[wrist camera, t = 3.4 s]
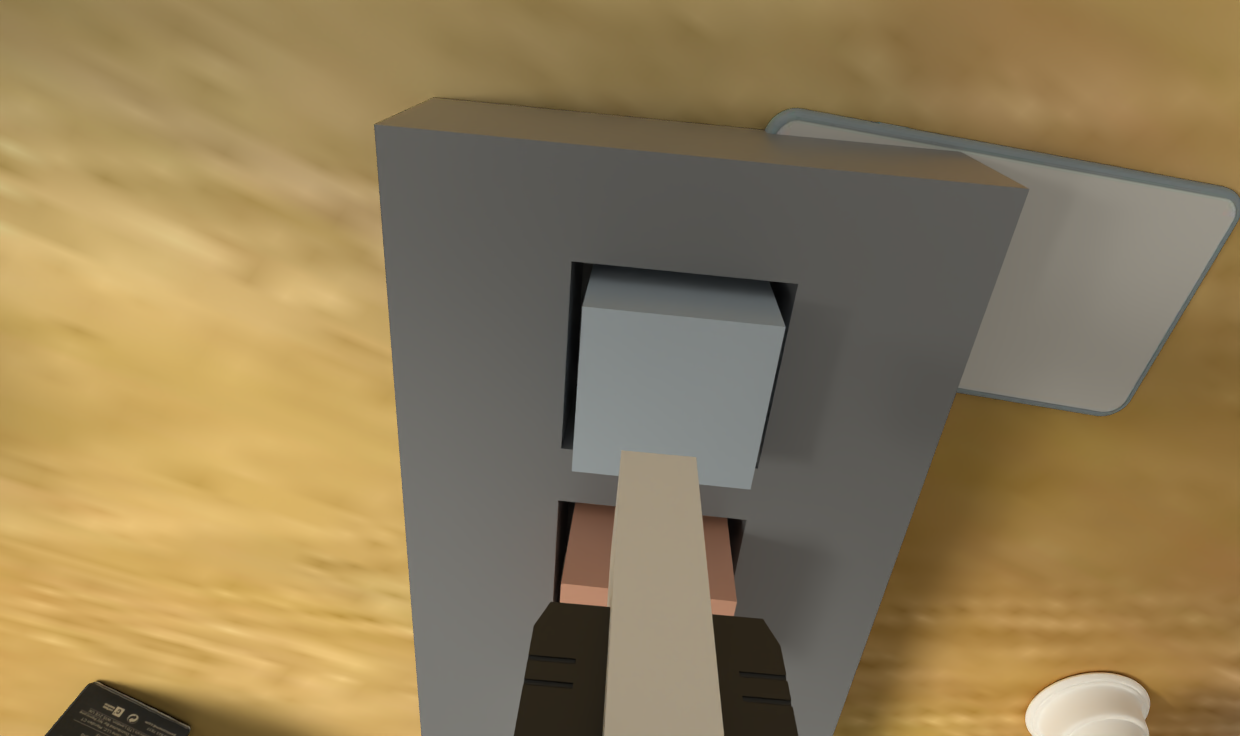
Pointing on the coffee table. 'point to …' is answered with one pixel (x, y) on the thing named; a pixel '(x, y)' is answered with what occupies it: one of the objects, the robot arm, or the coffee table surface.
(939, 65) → the coffee table surface
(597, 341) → the slate key
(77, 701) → the box
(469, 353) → the key panel
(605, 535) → the terracotta key
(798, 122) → the smartphone
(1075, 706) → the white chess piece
